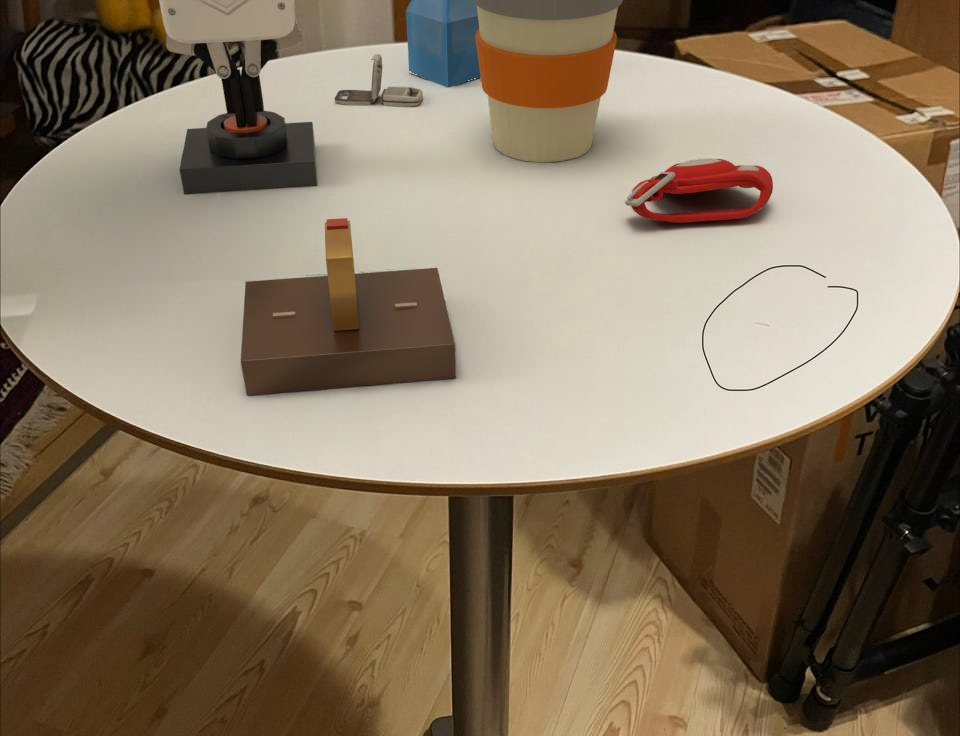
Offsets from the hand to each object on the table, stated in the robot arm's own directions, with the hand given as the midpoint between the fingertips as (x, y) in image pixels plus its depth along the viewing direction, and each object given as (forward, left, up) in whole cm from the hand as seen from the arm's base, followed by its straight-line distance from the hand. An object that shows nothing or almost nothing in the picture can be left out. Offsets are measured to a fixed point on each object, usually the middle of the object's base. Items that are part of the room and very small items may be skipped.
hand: (247, 120), depth 88 cm
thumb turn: (+7, -30, -2) cm, 31 cm away
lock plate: (+7, -30, -4) cm, 31 cm away
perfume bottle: (+20, +22, -4) cm, 30 cm away
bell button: (0, 0, -2) cm, 2 cm away
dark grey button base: (0, 0, -4) cm, 4 cm away
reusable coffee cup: (+26, +2, -4) cm, 26 cm away
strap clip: (+12, +15, -4) cm, 20 cm away
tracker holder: (+35, -13, -4) cm, 37 cm away
